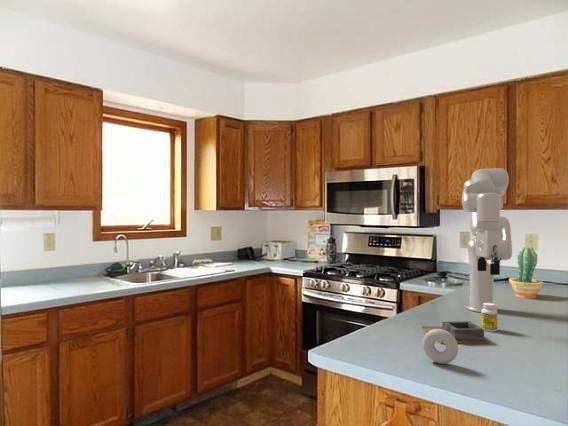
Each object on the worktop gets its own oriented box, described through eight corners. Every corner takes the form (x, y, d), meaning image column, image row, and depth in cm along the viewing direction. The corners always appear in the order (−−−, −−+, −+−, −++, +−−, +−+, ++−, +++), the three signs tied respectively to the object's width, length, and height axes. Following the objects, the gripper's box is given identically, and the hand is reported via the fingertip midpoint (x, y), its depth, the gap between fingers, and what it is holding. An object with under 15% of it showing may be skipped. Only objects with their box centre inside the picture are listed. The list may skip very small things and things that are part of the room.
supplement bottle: (497, 328, 156) (497, 303, 156) (497, 332, 151) (497, 306, 151) (481, 326, 159) (481, 301, 158) (480, 330, 154) (480, 304, 154)
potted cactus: (551, 298, 206) (551, 247, 206) (528, 301, 201) (529, 249, 200) (523, 292, 221) (523, 245, 220) (501, 294, 215) (501, 246, 215)
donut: (459, 364, 121) (459, 330, 121) (456, 368, 118) (456, 333, 118) (424, 358, 127) (424, 325, 126) (421, 361, 124) (421, 327, 124)
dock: (422, 328, 157) (422, 316, 157) (464, 327, 158) (464, 316, 158) (440, 343, 139) (440, 330, 139) (488, 343, 140) (488, 330, 140)
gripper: (467, 225, 163) (467, 269, 163) (489, 227, 146) (489, 276, 146) (486, 225, 163) (486, 269, 163) (511, 227, 146) (511, 276, 146)
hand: (488, 272), depth 154 cm, fingers open, 9 cm apart
